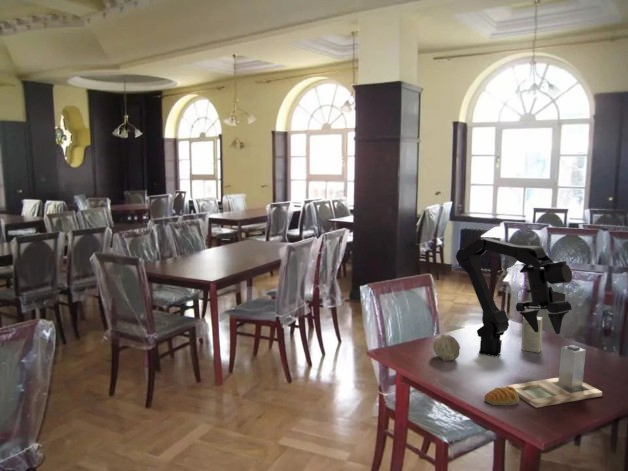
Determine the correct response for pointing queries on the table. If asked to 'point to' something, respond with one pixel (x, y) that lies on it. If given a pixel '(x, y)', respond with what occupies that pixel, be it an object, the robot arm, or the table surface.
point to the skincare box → (531, 336)
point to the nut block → (571, 368)
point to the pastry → (502, 396)
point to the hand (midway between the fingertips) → (547, 333)
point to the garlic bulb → (446, 347)
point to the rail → (551, 392)
